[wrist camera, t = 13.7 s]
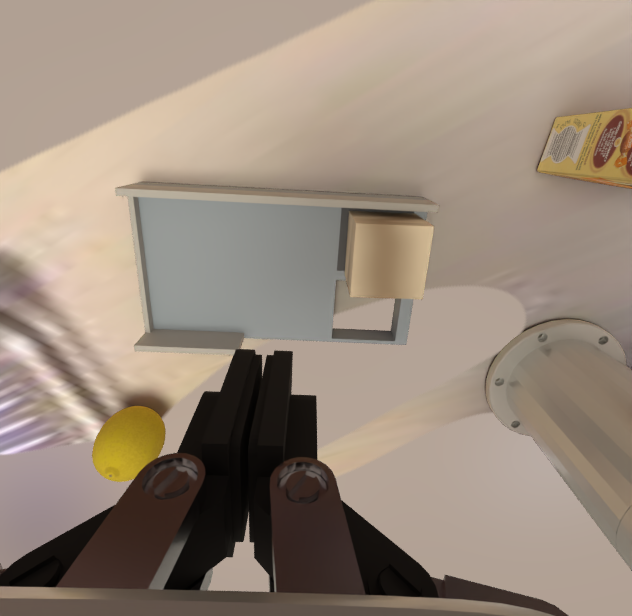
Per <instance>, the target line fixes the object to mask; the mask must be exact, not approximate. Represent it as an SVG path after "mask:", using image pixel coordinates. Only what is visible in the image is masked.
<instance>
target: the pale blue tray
mask: <svg viewBox="0 0 632 616" xmlns="http://www.w3.org/2000/svg"><path fill="white" fill-rule="evenodd" d="M115 192H116V196H127V197H128V204H129V212H130V220H131V228H132V235H133V243H134V251H135V258H136V266H137V274H138V281H139V289H140V297H141V304H142V312H143V320H144V327H145V334H144V335H143V336H142V337H141V338H140V339H139V341H138V342H137V343H136V344H135V345H134V349H135V351H141V352H165V353H189V354H213V355H234V353H235V350H236V349H240V348H241V345H242V342H243V339H244V338H256V339H280V340H281V339H282V340H303V341H304V340H305V341H327V342H352V343H374V344H399V345H406V342H407V337H408V330H409V324H410V317H411V312H412V305H413V299H396V298H395V305H394V312H393V320H392V328H391V331H378V330H355V329H332V327H333V314H334V301H335V288H336V280H345V281H346V278H345V261H346V248H347V234H348V220H349V211H365V212H390V213H415V214H417V215H418V216H420V217H421V218H422V219H424V220H425V221H426V218H427V212H436V213H438V211H439V205H438V204H436V203H434V202H432V201H430V200H428V199H426V198H424V197H415V196H396V195H377V194H359V193H340V192H321V191H303V190H284V189H265V188H246V187H228V186H209V185H190V184H172V183H153V182H139V183H135V184H130V185H126V186H122V187H117V188H115Z"/></svg>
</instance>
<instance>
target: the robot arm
mask: <svg viewBox="0 0 632 616" xmlns="http://www.w3.org/2000/svg"><path fill="white" fill-rule="evenodd" d="M292 353H293V352H292V351H274V355H267V357H266V363H265V367H264V372H263V376H262V355H256V354H255V350H248V349H236V350H235V353H234V356H233V358H232V361H231V364H230V367H229V369H228V372H227V375H226V377H225V380H224V383H223V386H222V388H221V391H220V392H208V391H206V392H204V393H203V395H202V397H201V399H200V402H199V404H198V406H197V409H196V411H195V413H194V416H193V418H192V420H191V422H190V424H189V427H188V429H187V431H186V434H185V436H184V438H183V441H182V443H181V445H180V447H179V450H178V452H177V453H173V454H167V455H164V456H161V457H159V458H156V459H154V460H153V461H151V462H150V463H148V464H147V465H146V466H145V467H144V468H143V469H142V470H141V471H140V472H139V473H138V474H137V476H136V477H135V479H134V480H133V481H132V483H131V484H130V485H129V487H128V488H127V490H126V491H125V493H124V494H123V495H122V497H121V498H120V499H119V501H118V502H117V503H116V505H114V506H112V507H110V508H108V509H107V510H105V511H103V512H101V513H99V514H98V515H96V516H95V517H92V518H91V519H89V520H87V521H85V522H84V523H82V524H80V525H78V526H76V527H74V528H73V529H71V530H69V531H67V532H65V533H64V534H62V535H60V536H58V537H57V538H55V539H53V540H51V541H49V542H47V543H46V544H44V545H42V546H40V547H38V548H37V549H35V550H33V551H32V552H29V553H28V554H26V555H25V556H23V557H22V558H20V559H19V560H17V561H16V562H14V563H13V564H12V565H11V566H10V567H9V568H7V569H3V568H2V566H1V564H0V616H568V615H567V614H566V613H564V612H563V611H562V610H560V609H559V608H558V607H556V606H555V605H552V604H550V603H548V602H546V601H543V600H540V599H537V598H533V597H529V596H525V595H521V594H518V593H513V592H510V591H506V590H502V589H498V588H495V587H491V586H487V585H483V584H479V583H475V582H471V581H468V580H464V579H460V578H456V577H452V576H448V575H445V576H444V580H441V579H437V578H433V577H430V575H429V573H428V572H426V570H425V569H424V568H423V567H422V566H421V565H420V564H419V563H418V562H416V561H415V560H414V559H413V558H411V557H410V556H409V555H408V554H407V553H405V552H404V551H403V550H402V549H400V548H399V547H398V546H397V545H395V544H394V543H393V542H392V541H391V540H389V539H388V538H387V537H386V536H385V535H383V534H382V533H381V532H380V531H378V530H377V529H376V528H375V527H374V526H372V525H371V524H370V523H369V522H367V521H366V520H365V519H364V518H363V517H361V516H360V515H359V514H358V513H356V512H355V511H354V510H353V509H352V508H350V507H349V506H348V505H346V504H345V503H344V502H343V501H342V500H341V498H340V493H339V490H338V486H337V482H336V478H335V476H334V474H333V472H332V470H331V469H330V468H329V467H328V466H327V465H326V464H324V463H322V462H321V461H319V460H317V410H316V396H311V395H291V387H292V355H293V354H292ZM485 390H486V397H487V401H488V404H489V406H490V408H491V410H492V411H493V413H494V414H495V416H496V417H497V418H498V420H499V421H500V422H501V423H502V424H503V425H504V426H506V427H507V428H509V429H510V430H512V431H515V432H517V433H519V434H522V435H528V436H531V437H532V438H533V440H534V441H535V442H536V444H537V445H538V446H539V448H540V449H541V450H542V452H543V453H544V454H545V455H546V457H547V458H548V460H549V461H550V462H551V464H552V465H553V466H554V468H555V469H556V470H557V472H558V473H559V474H560V476H561V477H562V478H563V480H564V481H565V482H566V484H567V485H568V486H569V488H570V489H571V490H572V492H573V493H574V494H575V496H576V497H577V499H578V500H579V501H580V503H581V504H582V505H583V507H584V508H585V509H586V511H587V512H588V513H589V515H590V516H591V517H592V519H593V520H594V521H595V523H596V524H597V525H598V527H599V528H600V529H601V531H602V532H603V533H604V535H605V536H606V537H607V539H608V540H609V541H610V543H611V544H612V545H613V547H614V548H615V549H616V551H617V552H618V553H619V555H620V556H621V557H622V559H623V560H624V561H625V563H626V564H627V565H628V566H629V568H630V569H631V571H632V370H631V369H630V368H628V367H627V366H626V358H625V353H624V351H623V349H622V347H621V345H620V343H619V342H618V341H617V340H616V339H615V338H614V337H613V336H612V335H611V334H610V333H608V332H607V331H605V330H604V329H602V328H601V327H599V326H597V325H595V324H592V323H590V322H586V321H582V320H573V319H563V320H555V321H550V322H546V323H543V324H539V325H537V326H535V327H533V328H530V329H528V330H526V331H524V332H523V333H521V334H520V335H518V336H517V337H515V338H514V339H513V340H512V341H510V343H508V344H507V345H506V346H505V347H504V348H503V349H502V350H501V352H500V353H499V354H498V355H497V357H496V358H495V360H494V362H493V363H492V365H491V367H490V369H489V373H488V376H487V379H486V389H485ZM248 513H249V527H250V528H249V530H250V531H249V534H250V542H254V558H255V559H256V560H257V561H258V563H260V565H261V566H262V567H263V568H264V569H265V571H266V572H267V573H268V574H269V592H241V591H207V590H208V587H209V585H210V582H211V578H212V574H213V567H214V566H216V565H217V564H218V563H219V562H220V561H222V560H223V559H224V558H226V557H233V552H234V547H235V542H243V541H244V536H245V530H246V524H247V519H248Z"/></svg>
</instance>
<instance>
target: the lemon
mask: <svg viewBox="0 0 632 616" xmlns="http://www.w3.org/2000/svg"><path fill="white" fill-rule="evenodd" d="M164 441H165V426H164V422H163V421H162V419H161V417H160V416H159V415H158V414H157V413H156V412H155V411H154V410H152V409H150V408H148V407H143V406H132V407H128V408H125V409H123V410H121V411H119V412H117V413H115V414H114V415H113V416H112V417H111V418H110V419H108V420H107V422H106V423H105V424H104V425H103V427H102V428H101V430H100V432H99V433H98V435H97V437H96V440H95V443H94V447H93V453H92V457H93V463H94V466H95V468H96V470H97V471H98V472H99V473H100V474H101V475H102V476H103V477H105V478H106V479H109V480H112V481H117V482H122V481H129V480H132V479H135V477H136V476H137V474H138V473H139V472H140V471H141V470H142V469H143V468H144V467H145V466H146V465H147V464H148V463H150V462H151V461H153V460H154V459H156V458H158V456H159V454H160V452H161V450H162V448H163V445H164Z"/></svg>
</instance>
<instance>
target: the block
mask: <svg viewBox="0 0 632 616" xmlns="http://www.w3.org/2000/svg"><path fill="white" fill-rule="evenodd" d="M433 231H434V226H433V225H431V224H430V223H428V222H427V221H425V220H424V219H422V218H421V217H420V216H418V215H417V214H415V213H390V212H365V211H349V220H348V234H347V248H346V261H345V278H346V282H347V286H348V290H349V294H350V297H368V298H396V299H423V294H424V288H425V282H426V275H427V269H428V263H429V256H430V250H431V244H432V237H433Z"/></svg>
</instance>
